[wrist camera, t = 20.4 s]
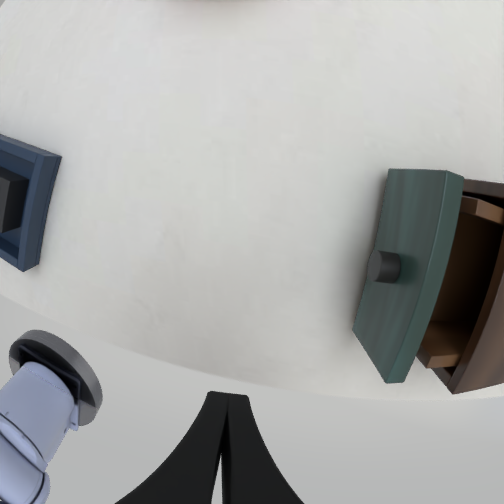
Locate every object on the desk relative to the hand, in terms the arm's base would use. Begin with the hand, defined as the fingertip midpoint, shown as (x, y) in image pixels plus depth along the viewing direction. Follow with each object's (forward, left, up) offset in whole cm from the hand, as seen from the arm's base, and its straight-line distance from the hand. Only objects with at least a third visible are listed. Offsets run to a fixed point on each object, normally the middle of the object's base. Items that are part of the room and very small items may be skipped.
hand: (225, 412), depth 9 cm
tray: (+1, +20, -9) cm, 22 cm away
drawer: (+9, -15, -9) cm, 19 cm away
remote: (+1, +20, -9) cm, 22 cm away
